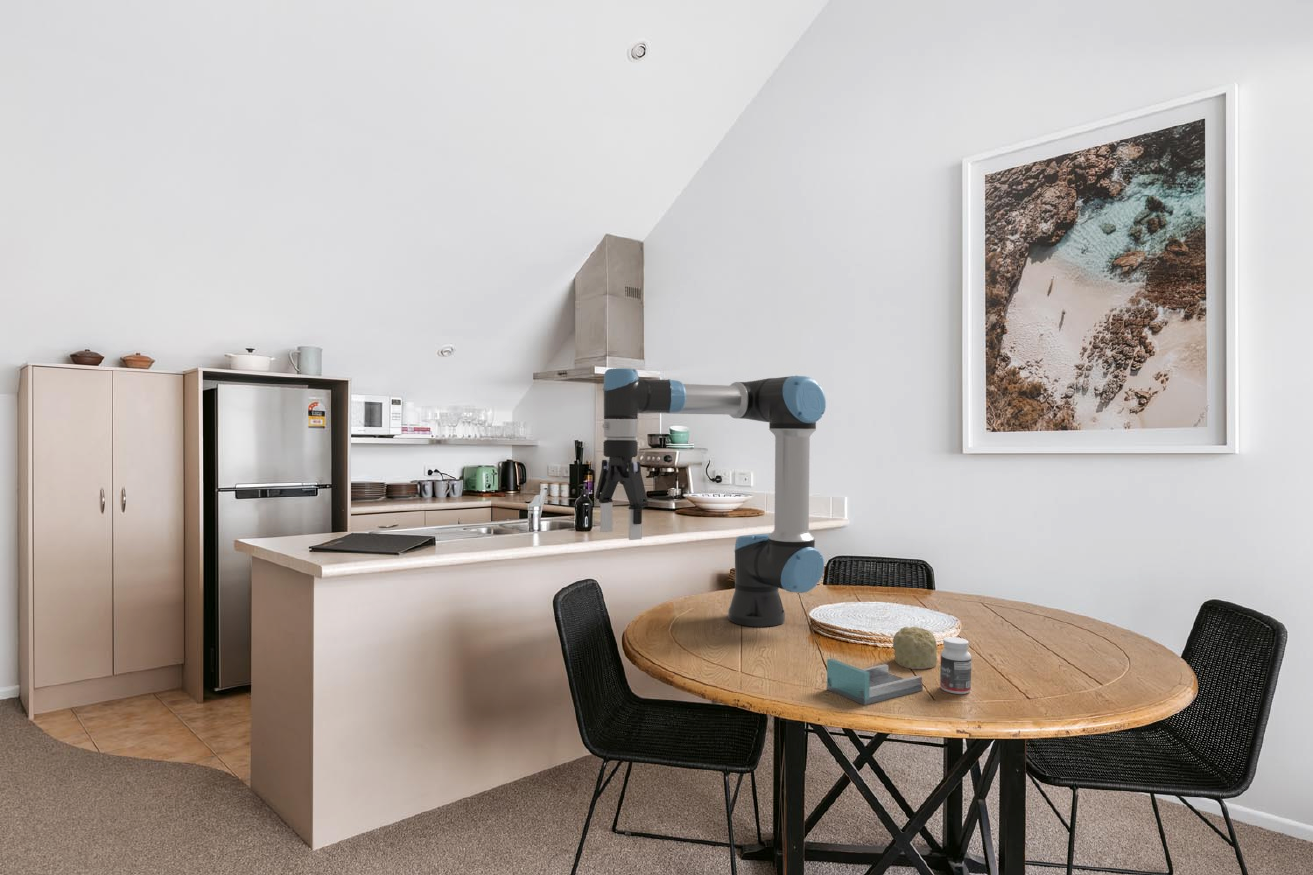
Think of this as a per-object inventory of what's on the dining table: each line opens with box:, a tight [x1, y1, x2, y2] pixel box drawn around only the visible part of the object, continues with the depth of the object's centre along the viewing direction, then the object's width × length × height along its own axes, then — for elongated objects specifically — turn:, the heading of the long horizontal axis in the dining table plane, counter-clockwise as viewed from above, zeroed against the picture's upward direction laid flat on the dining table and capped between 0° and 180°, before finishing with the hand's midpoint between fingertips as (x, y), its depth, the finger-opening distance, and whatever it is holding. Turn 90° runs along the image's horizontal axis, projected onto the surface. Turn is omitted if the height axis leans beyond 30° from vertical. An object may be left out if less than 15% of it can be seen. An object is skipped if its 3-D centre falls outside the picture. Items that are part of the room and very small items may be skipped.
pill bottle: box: [939, 636, 972, 695], centre depth 152 cm, size 6×6×10 cm
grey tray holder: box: [826, 658, 924, 706], centre depth 152 cm, size 16×10×6 cm, turn 121°
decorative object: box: [892, 626, 938, 670], centre depth 169 cm, size 9×10×10 cm
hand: (620, 535), depth 169 cm, fingers open, 13 cm apart
